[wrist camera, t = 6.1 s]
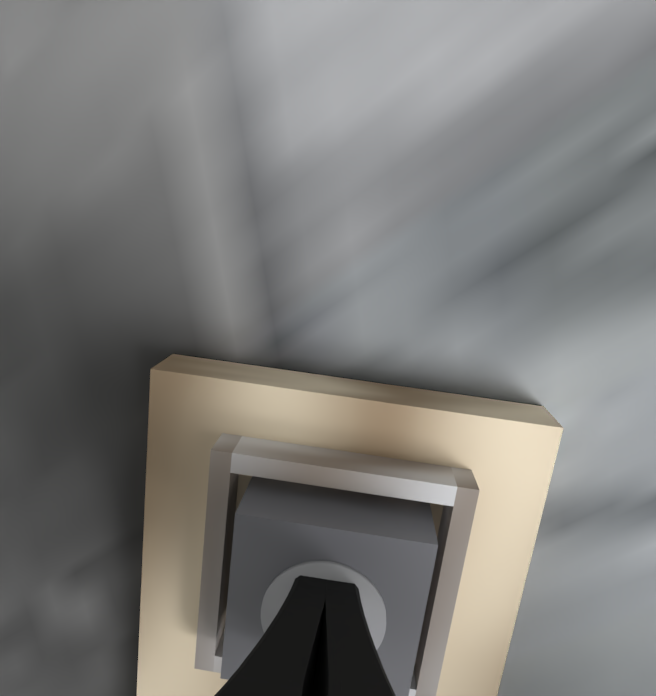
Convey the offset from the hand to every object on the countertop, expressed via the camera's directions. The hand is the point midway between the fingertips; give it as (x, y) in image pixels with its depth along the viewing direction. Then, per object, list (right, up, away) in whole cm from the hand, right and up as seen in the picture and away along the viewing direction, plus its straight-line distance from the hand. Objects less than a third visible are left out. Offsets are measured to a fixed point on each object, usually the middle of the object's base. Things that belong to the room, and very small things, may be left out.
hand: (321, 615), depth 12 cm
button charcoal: (0, 0, +2) cm, 2 cm away
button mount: (0, -4, +5) cm, 7 cm away
